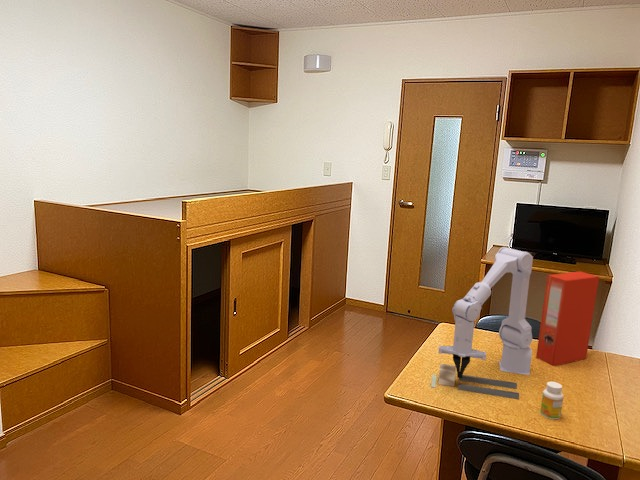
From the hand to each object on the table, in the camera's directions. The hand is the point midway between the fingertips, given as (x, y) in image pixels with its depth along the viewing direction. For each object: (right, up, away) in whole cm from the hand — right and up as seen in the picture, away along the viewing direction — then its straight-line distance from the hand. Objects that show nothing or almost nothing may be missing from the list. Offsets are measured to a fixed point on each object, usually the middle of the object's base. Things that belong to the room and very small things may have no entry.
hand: (459, 376), depth 158 cm
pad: (-5, -3, +2) cm, 6 cm away
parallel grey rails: (+8, -4, -2) cm, 9 cm away
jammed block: (-4, -2, +1) cm, 5 cm away
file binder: (+45, 0, +24) cm, 51 cm away
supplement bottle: (+22, -7, -16) cm, 28 cm away
